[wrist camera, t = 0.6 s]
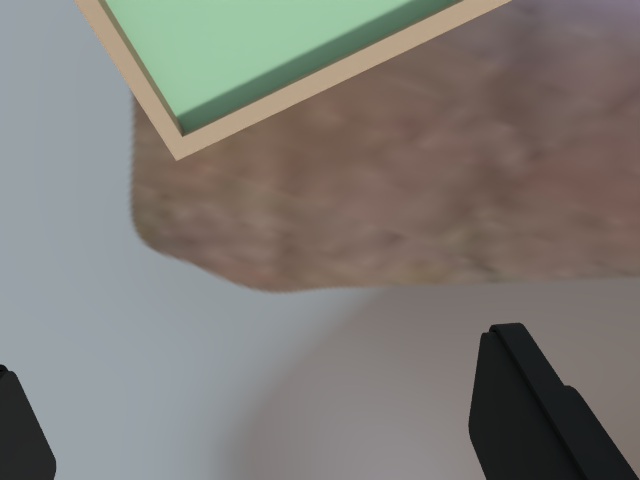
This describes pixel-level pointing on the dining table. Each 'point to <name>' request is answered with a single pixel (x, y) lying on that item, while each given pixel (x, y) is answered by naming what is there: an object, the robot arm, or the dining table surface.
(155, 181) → the dining table surface
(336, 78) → the putting tray
